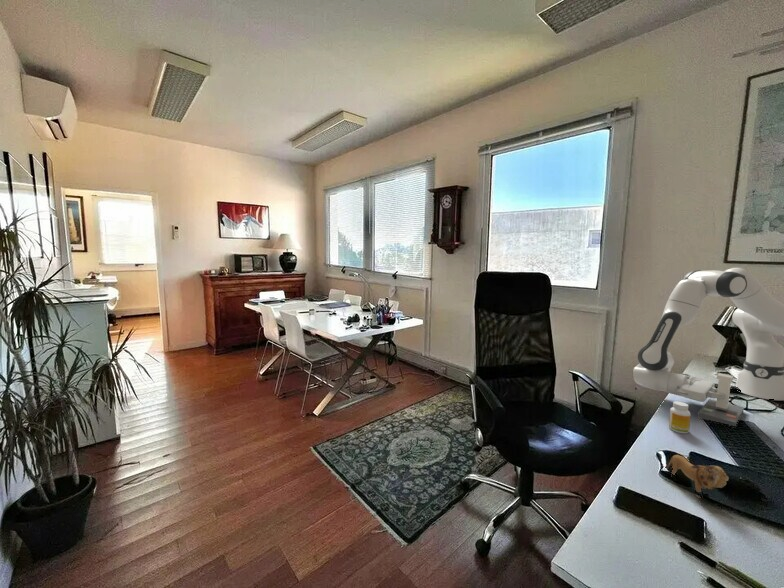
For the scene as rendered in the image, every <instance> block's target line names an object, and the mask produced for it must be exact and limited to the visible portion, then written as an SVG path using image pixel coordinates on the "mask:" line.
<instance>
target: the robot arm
mask: <svg viewBox="0 0 784 588" xmlns="http://www.w3.org/2000/svg"><path fill="white" fill-rule="evenodd" d="M707 296H708V297H721V298H722V297H723V298H729V299H730V300H731V302H732V303H733V304H734V305H735V306H736V309H735V310H734V312H733V314H732V315H731V316H732V317H731V318H732V321H733V324H734V325H736V327H738V328H739V329H740V331H741V332H742V334H743V335H744V338H745V341H746V353H745V354H746V356H745V360H744V362H743V369H742V370H740V371H738V372H737V378H736V382H735V384H736V387H738V388H739V389H740V390H741V392H740V393H742V394H745V395H746V396H747V395H748V396H751V397H754V398H759V399H763V400H769V399H774V400H773V401H784V346H783V345H782V344H780V343H779V342H777V340H776V339H775V338H774V336H773V335H775V336H780V337H784V303H783V302H781V301H779V300H778V299H776V298H774V296H772V295H771V294H770V293H769V291H767V290H766V288H765V287H764V286H763V285H762V283H761V282H760V280H758V279H757V278H756V277H755V276H754V275H753V274H752V273H751V272H749V271H747V270H746V269H744V268H742V267H731V268H729V269H725V270H724V271H723V270H719V269H718V270H716V269H715V270H711V269H709V270H701V269H698V270H693V271H689V272H687V273H686V274H685V275H684V276H683V278H682V279H681V280H680V281H679V282H677V284H676V286H675V287H674V288H673V290H672V292H671V293H670V295H669V297H668V299H667V301H666V303H665V306H664V309H663V313H662V315H661V317H660V321H659V323H658V324H657V326H656V328H655V330H654V332H653V335H652V337H651V338H650V340H649V341H648V342H647V344H645V345H644V346H643V347H642V348H640V350H639V351H638V353H637V361H638V362H639V363H638V364H637V365H636V366H634V367H633V370H632V378H633V380H634V382H635V383H636V384H637V385H638V386H641V387H644V388H647V389H651V390H655V391H663V392H665V393H667V394H670V395H675V396H678V397H679V396H680V397H684V398H686V399H690V400H693V401H695V402H700V403H704V402H705V401H706V400H707V398H709V399H717V398H718V399H723V400H724V399H725V397H726V395H725V394H721V393H717V390H718V387H717V388H716V387H715V386H716V385H715V382H714V381H712V380H709V379H705V378H702V377H697V376H691V374H688V373H675V372H671V371H672V369H673V366H674V364H675V359H674V356H673V354H672V353H671V352H670V351H668V350H669V347H670V345H671V343H672V341H673V339H674V337H675V335H676V333H677V332H678V330H680V329H681V328H683V327H684V326H686V325H689V324H691V323H693V321H694V320H695V319H696V317H697V316H698V315H699V312H700V310H701V308H702V305H703V303H704V300H705V298H706V297H707Z"/></svg>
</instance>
